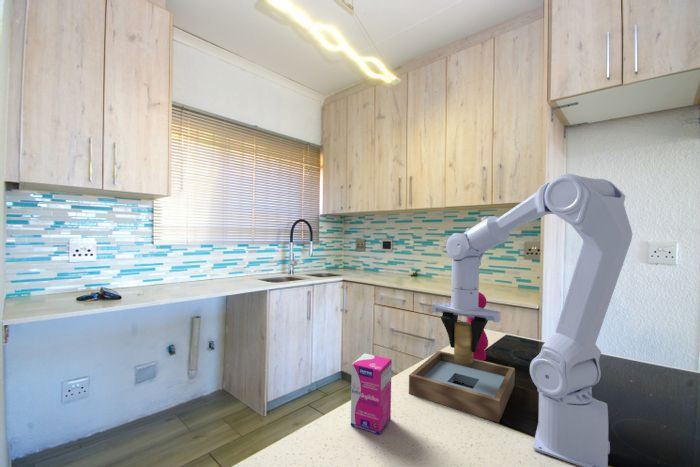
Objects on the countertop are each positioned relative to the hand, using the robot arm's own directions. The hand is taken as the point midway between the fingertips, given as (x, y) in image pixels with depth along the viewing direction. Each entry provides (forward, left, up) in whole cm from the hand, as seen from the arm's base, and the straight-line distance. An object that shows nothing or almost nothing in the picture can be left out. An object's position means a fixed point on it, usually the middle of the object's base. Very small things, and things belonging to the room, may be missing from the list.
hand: (463, 348), depth 72 cm
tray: (0, 0, -9) cm, 9 cm away
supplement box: (+10, +23, -9) cm, 27 cm away
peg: (0, 0, -2) cm, 3 cm away
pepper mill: (+3, -21, -9) cm, 23 cm away
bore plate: (0, 0, -9) cm, 9 cm away
